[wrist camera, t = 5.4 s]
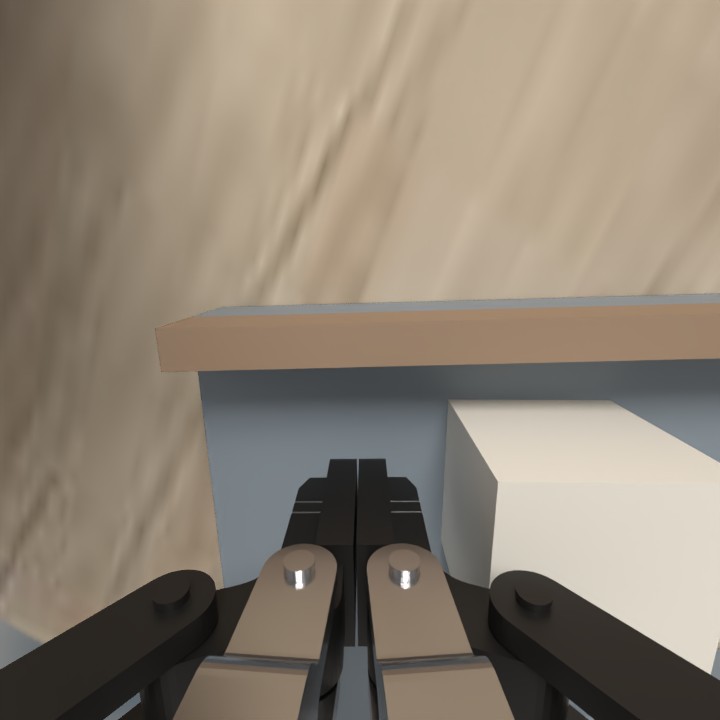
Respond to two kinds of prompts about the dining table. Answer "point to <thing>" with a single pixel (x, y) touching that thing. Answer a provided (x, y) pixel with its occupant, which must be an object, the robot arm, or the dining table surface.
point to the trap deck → (418, 397)
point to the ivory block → (588, 512)
